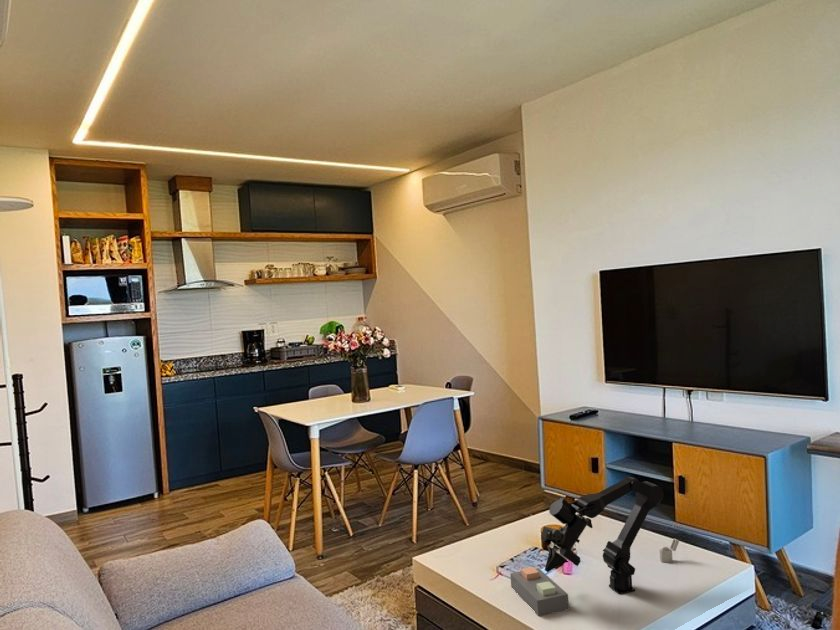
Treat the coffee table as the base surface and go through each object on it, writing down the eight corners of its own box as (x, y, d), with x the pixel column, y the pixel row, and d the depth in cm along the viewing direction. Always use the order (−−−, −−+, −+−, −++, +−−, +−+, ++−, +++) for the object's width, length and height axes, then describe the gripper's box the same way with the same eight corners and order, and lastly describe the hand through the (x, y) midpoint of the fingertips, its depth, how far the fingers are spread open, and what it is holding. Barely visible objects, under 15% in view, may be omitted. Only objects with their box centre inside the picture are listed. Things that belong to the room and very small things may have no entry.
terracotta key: (533, 582, 211) (532, 566, 211) (539, 587, 207) (538, 572, 207) (521, 584, 210) (521, 569, 210) (527, 590, 206) (526, 574, 206)
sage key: (549, 597, 200) (548, 581, 200) (556, 603, 195) (555, 587, 195) (537, 600, 199) (536, 583, 199) (543, 606, 194) (542, 589, 194)
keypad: (539, 581, 214) (538, 568, 214) (568, 609, 194) (568, 594, 194) (511, 587, 212) (510, 573, 211) (538, 616, 191) (537, 600, 191)
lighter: (662, 562, 224) (661, 541, 224) (660, 560, 225) (658, 539, 225) (680, 560, 224) (679, 539, 224) (677, 558, 226) (676, 537, 226)
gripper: (542, 510, 208) (517, 548, 206) (566, 525, 190) (539, 567, 187) (566, 528, 210) (541, 566, 207) (592, 545, 192) (565, 586, 189)
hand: (546, 571), depth 198 cm, fingers closed
